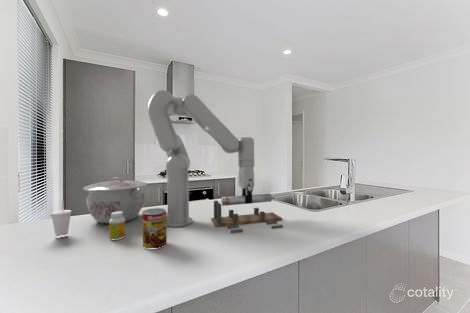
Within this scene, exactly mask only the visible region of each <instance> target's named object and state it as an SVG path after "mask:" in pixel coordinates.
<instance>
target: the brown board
mask: <svg viewBox="0 0 470 313" xmlns="http://www.w3.org/2000/svg"><path fill="white" fill-rule="evenodd" d="M210 221H211V222H212V225H213V226H214V227H215V228H219V227H220V228H221V227H227V226H232V225H239V226H240V225H250V224H259V223H260V224H261V223H266V222H271V221H277V222H278V221H279V222H280V221H283V217H281V216H279V215H278V214H276V213H274V212H265V211H263V210H262V211H260V208H259V207H254V208H253V213H251V214H240V215H239V213H235V212H234V210H233V209H228V216H227V215H226V216H222V203H220V202H219V201H218V200H213V217H211V218H210Z"/></svg>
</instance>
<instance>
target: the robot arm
mask: <svg viewBox="0 0 470 313" xmlns="http://www.w3.org/2000/svg"><path fill="white" fill-rule="evenodd" d="M147 112H148V114H147V115H148V118H149V121H150V124H151V125H152V128H153V132H154V134H155V136H156V139H157V142H158V145H159V147H160V149H161V150H162V151H164V153H166V155H167V158H168V159H167V161H166V164H165V172H166V173H165V174H166V187H167V189H166V192H167V195H166V196H167V199H166V200H167V211H166V227H171V228H175V227H176V228H177V227H186V226H189V225H191V224H192V223H193V218H191V217H190V206H189V205H190V201H189V200H190V190H189V188H190V187H189V184H190V182H189V168H190V167H191V161H190V160H191V159H190V157H189V153H188V152H187V149H186V146H185V145H184V142H183V139H182V138H181V136H180V135H178V133H177V132H176V130H175V127H174V126H173V123H172V120H171V118H170V115H176V116H187V117H189V116H190V118H192V120H193V121H194V122H196V124H197V125H198V126H199V127H200V128H201V129H202V131H204V132H205V133H207V134H208V135H209V136H211V138H213V140H214V141H215V142H216V143H217V144H218V146H220V147H221V148H222V150H223V151H224V152H225V153H226V154H233V153H237V157H238V158H237V159H238V186H239V187H240V188H241V195H245V203H246V204H245V205H249V204H253V203H252V195H253V191H254V188H255V171H254V168H255V139H254V138H253V137H250V136H249V137H248V136H245V137H243V136H242V137H239V138H237V137H236V136H235V135H234V134H233V133H232V132H231V130H230V129H229V128H228V127H226V125H225V124H224V123H223V122H222V121H221V120H220V119H219V118H218V117H217V116H216V115H215V114H214V113H213V112H212V111H211V110H210V108H208V107H207V106H206V104H205V103H204V102H203V101H202V99H200V98H199V97H198V96H197V95H195V94H193V93H191V94H186V95H185V96H184V97H175V96H174V95H173V94H172V93H171V92H170V91H168V90H163V89H160V90H158V91H156V92H155V93H154V94H152V95H151V98H150V99H149V101H148V105H147Z"/></svg>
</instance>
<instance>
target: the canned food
mask: <svg viewBox="0 0 470 313" xmlns="http://www.w3.org/2000/svg"><path fill="white" fill-rule="evenodd" d="M141 213H142V214H141V215H142V220H141V221H142V227H141V228H142V248H143V247H145V248H159V247H162V246H164V245H166V246H167V244H166V243H167V238H168V236H167V226H166V214H167V209H166V208H159V207H158V208H157V207H156V208H149V209H145V210H143V211H142V212H141ZM164 247H165V246H164ZM162 248H163V247H162Z"/></svg>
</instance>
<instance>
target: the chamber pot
mask: <svg viewBox="0 0 470 313" xmlns="http://www.w3.org/2000/svg"><path fill="white" fill-rule="evenodd" d="M147 185H148V183H147V182H143V181H141V180H140V181H139V180H129V179H127V180H123V179H122V178H121V177H119V176H118V177H117V176H114V177H113V178H111V180H109V181H102V182H96V183H92V184H89V185H86V186H84V187H82V190H83V191H87V192H88V195H87V197H86V206H87V210H88V212H89V214H90V216H91V217H92V218H93V219H94V220H95V221H96V222H97V223H99V224H104V223H106V224H105V225H108V224H107V223H109V220H110V219H111V218H112V217H111V213H113V212H117V211H121V212H123V216H122V217H124V218H125V221H127V222H129V221H132V220H133V219H135V218H137V217H138V216H139V214H140V212H141V211H142V210H143V207H144V204H145V201H146V193H145V191H144V190H143V188H145V187H146V186H147Z"/></svg>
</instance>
